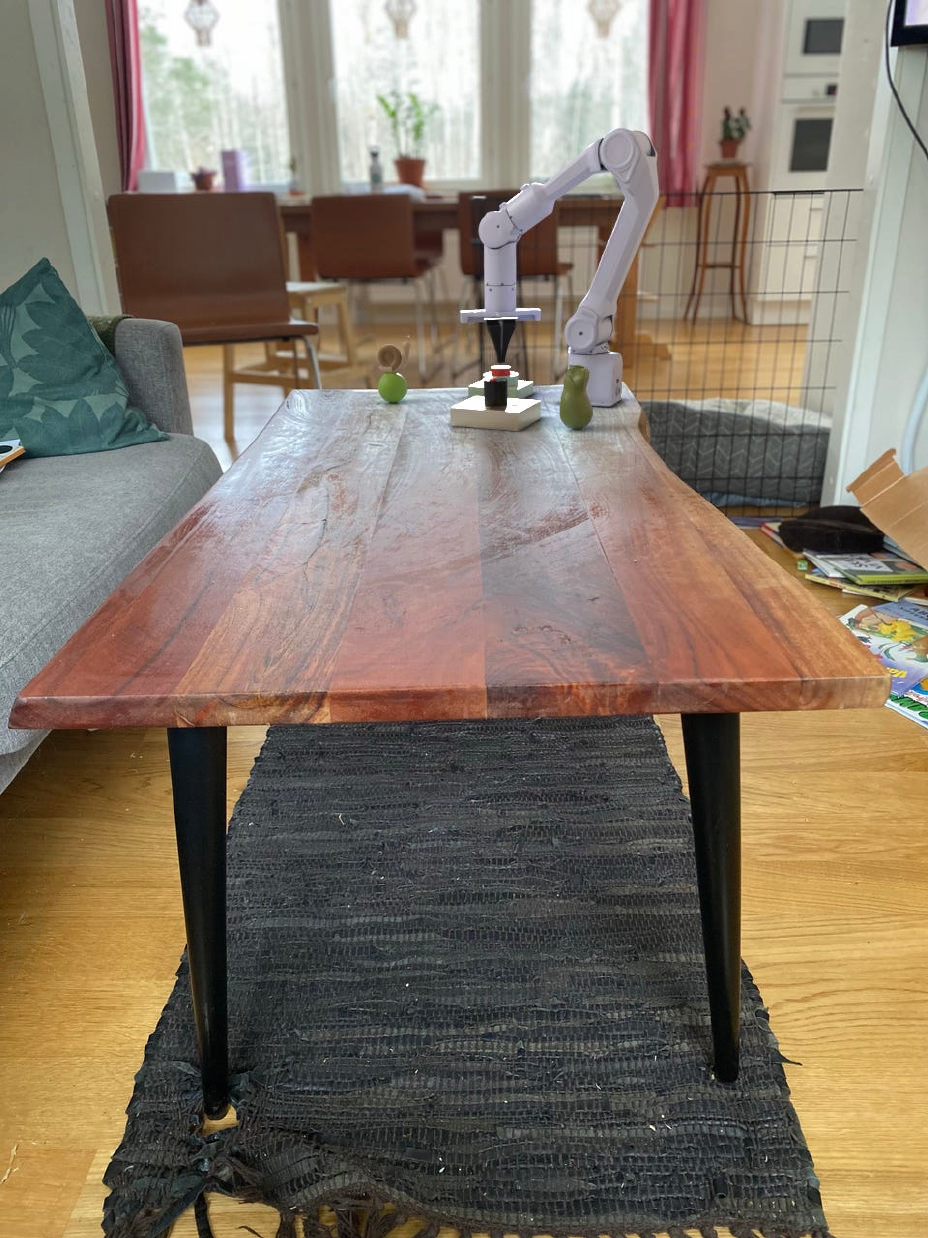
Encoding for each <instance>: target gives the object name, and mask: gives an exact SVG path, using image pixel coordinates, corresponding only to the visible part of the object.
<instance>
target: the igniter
mask: <svg viewBox="0 0 928 1238" xmlns="http://www.w3.org/2000/svg"><path fill="white" fill-rule="evenodd" d="M490 377H504V378H507V379H508V398H509V399H525V398H527V397H529V396H531V395H533V394H534V381H526V380H525V381H524V380H520V379H519V378H520V374H519V372H515V371H511V375H509V376H492V375H491V371H489V372H485V373H483V374H482V380H480V381H477V382H475V383H473V384H470V385H468V386H467V395H468V396H467V398H468V399H470V398H473V397H475V396H479V397H484V381H483V380H484V379H485V378H490Z"/></svg>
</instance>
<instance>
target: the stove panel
mask: <svg viewBox="0 0 928 1238" xmlns="http://www.w3.org/2000/svg"><path fill="white" fill-rule="evenodd" d="M449 410H450V411H449V413H450V415H449V416H450V426H451V427H463V428H473V429H486V430H487V429H489V430H499V431H511V432H519V431H521V430H523V429H525V428H526V427H528V426H530V425H532V424H533V423H534V422H536V421H538V420H540V419H541V400H536V399H525V398H523V399H509V398H508V404H507V405H503V406H488V405H485V404H484V397H479V396H475V397H473V398H468V399H466V400H464V401H461V402H459V403H458V404H455V405H452V406H451V407H449Z"/></svg>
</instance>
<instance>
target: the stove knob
mask: <svg viewBox="0 0 928 1238" xmlns="http://www.w3.org/2000/svg"><path fill="white" fill-rule="evenodd" d="M482 380H483V379H482ZM483 381H484V404H485V405H488V406H503V405H507V404H508V379H507V378H504V377H490V378H485V379H484V380H483Z"/></svg>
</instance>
